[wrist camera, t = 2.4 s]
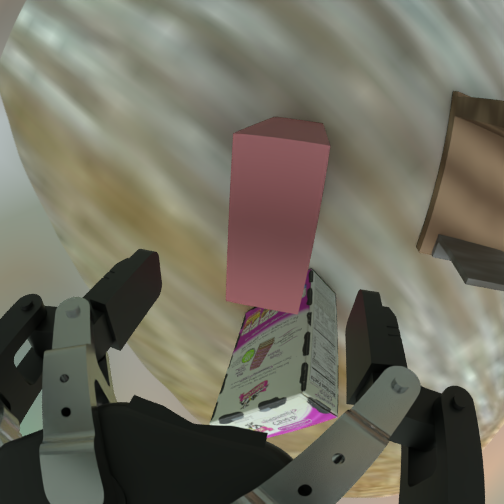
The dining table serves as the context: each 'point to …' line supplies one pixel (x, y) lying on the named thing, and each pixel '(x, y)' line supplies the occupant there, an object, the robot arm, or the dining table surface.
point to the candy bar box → (284, 367)
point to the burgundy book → (274, 211)
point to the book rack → (470, 194)
